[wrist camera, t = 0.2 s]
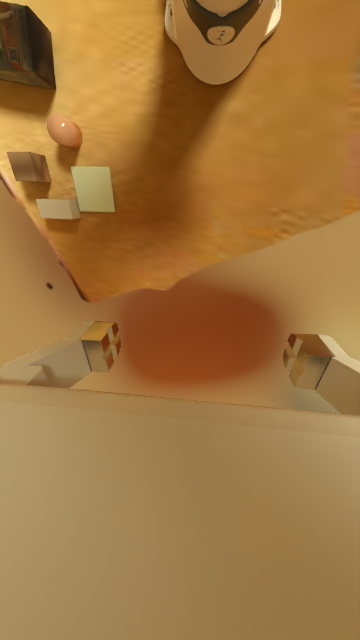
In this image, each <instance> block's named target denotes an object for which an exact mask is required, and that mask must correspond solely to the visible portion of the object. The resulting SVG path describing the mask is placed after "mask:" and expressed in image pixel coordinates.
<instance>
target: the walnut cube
mask: <svg viewBox="0 0 360 640" xmlns="http://www.w3.org/2000/svg"><path fill="white" fill-rule="evenodd" d="M7 155H8V158H9V161H10V164H11V167H12V170H13V173H14V176H15V179H16V181H25V182H51V178H50V174H49V170H48V167H47V163H46V159H45V156H43V155H39V154H35V153H31V152H7Z"/></svg>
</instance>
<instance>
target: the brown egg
mask: <svg viewBox="0 0 360 640" xmlns="http://www.w3.org/2000/svg"><path fill="white" fill-rule="evenodd" d="M47 129H48V132H49V134H50V136H51V138H52V139H53V140H54V141H55V142H57V143H60V144H62V145H65V146H68V147H71V148H78V147H79V146H80V145H81V143H82V133H81V130H80V128H79V127H78V126H77V125H76V124H75V123H74V122H72V121H70V120H68V119H66V118H65V117H63V116H61V115H59V114H56V113H54V114H51V115H50V116H49V117H48V120H47Z"/></svg>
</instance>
